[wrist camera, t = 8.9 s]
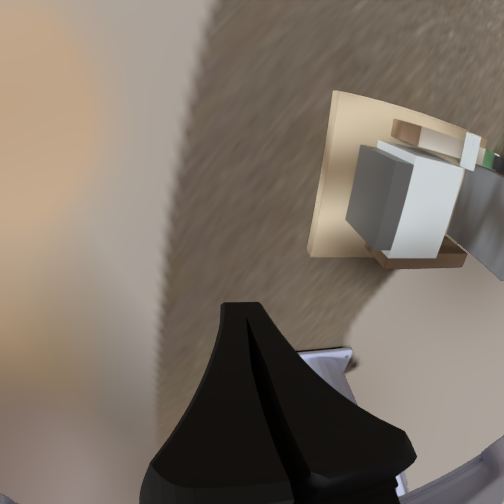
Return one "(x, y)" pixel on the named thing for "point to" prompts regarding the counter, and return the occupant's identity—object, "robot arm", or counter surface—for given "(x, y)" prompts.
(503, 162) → the dark navy block
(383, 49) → the counter surface
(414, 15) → the counter surface
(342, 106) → the stand
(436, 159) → the light grey block
